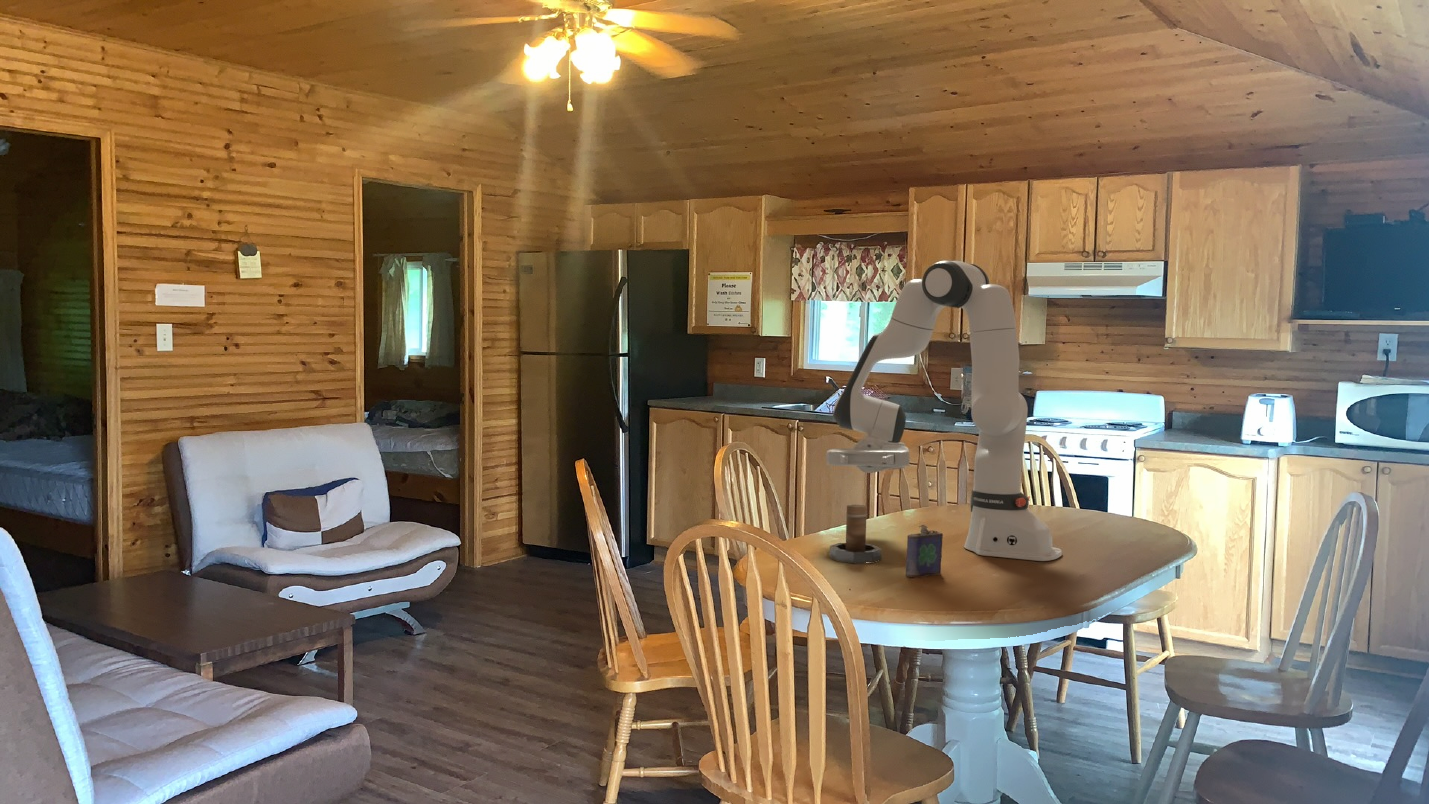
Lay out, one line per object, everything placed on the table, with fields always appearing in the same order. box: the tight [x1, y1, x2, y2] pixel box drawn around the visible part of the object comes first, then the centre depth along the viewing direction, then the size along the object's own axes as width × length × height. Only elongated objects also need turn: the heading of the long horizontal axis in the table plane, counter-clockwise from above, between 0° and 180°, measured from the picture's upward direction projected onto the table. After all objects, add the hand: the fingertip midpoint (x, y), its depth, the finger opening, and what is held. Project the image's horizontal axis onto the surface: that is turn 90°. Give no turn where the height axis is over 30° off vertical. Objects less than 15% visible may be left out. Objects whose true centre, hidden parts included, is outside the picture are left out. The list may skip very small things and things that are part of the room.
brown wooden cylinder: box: [845, 504, 868, 551], centre depth 243 cm, size 5×5×12 cm
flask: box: [905, 524, 944, 578], centre depth 228 cm, size 9×3×11 cm, turn 121°
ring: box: [829, 542, 882, 564], centre depth 244 cm, size 11×11×2 cm
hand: (865, 460), depth 254 cm, fingers open, 8 cm apart
